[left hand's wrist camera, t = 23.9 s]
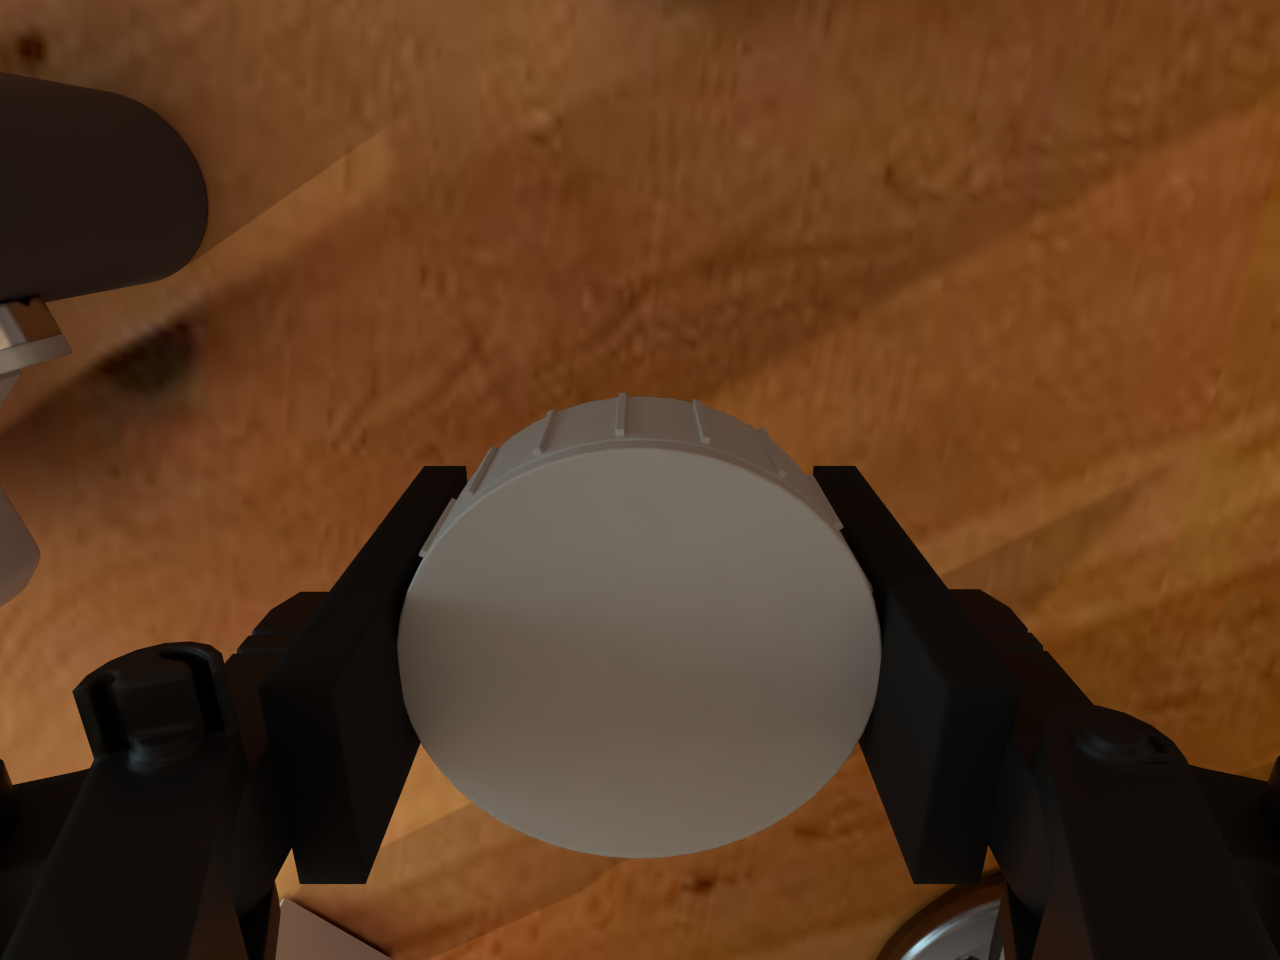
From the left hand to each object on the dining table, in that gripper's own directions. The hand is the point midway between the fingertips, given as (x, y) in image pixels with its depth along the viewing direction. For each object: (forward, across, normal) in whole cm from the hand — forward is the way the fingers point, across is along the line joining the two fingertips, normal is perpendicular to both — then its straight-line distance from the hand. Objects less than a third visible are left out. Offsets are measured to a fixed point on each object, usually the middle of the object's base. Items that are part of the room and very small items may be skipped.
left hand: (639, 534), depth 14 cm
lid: (-4, 0, 0) cm, 4 cm away
